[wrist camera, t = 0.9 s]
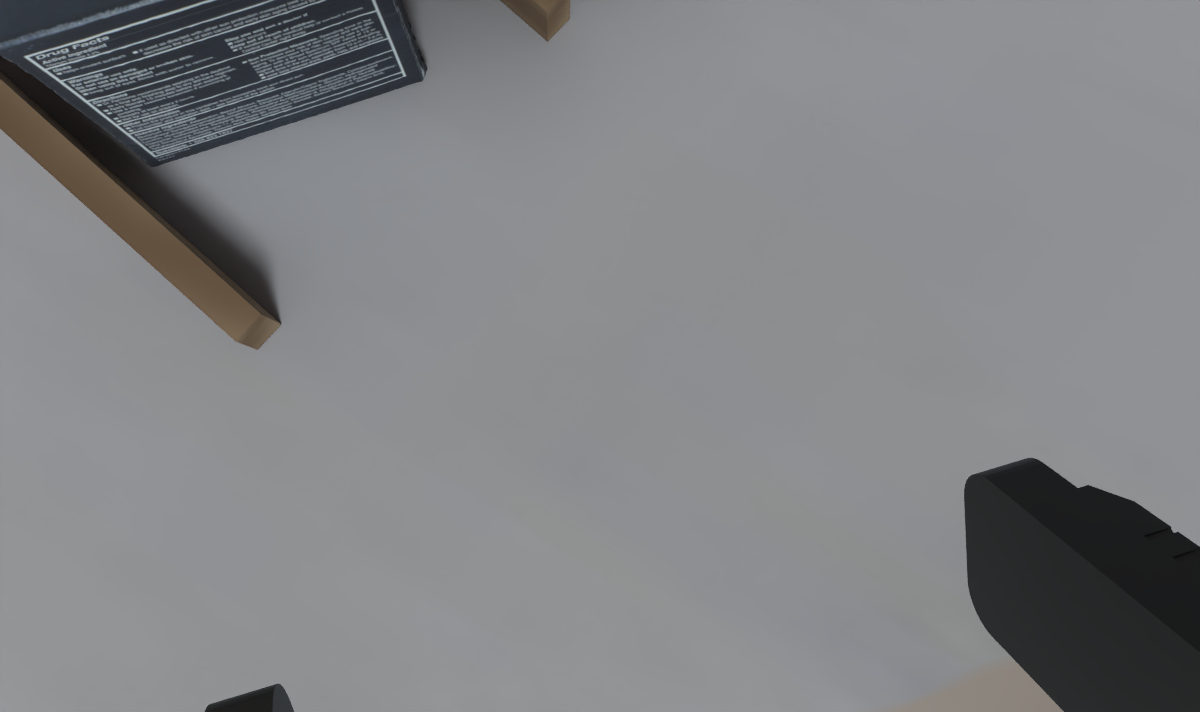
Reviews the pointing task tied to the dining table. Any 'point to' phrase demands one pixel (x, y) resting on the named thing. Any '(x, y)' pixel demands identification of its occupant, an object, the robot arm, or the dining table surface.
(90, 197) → the walnut tunnel
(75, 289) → the dining table surface
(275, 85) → the small box
